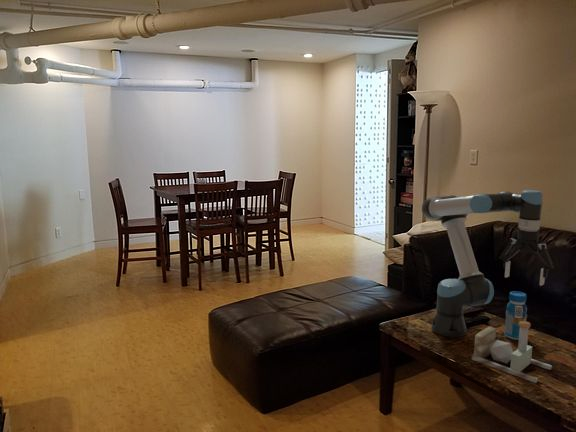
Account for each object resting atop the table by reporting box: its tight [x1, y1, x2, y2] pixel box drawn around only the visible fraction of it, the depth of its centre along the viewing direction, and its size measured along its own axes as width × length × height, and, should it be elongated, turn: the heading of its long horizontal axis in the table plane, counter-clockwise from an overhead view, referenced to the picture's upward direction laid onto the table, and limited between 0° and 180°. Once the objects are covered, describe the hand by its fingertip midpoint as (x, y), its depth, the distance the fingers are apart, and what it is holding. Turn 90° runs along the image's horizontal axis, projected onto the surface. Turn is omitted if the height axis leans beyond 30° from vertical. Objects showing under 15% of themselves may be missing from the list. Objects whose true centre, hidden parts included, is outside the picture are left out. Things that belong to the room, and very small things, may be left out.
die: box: [490, 339, 514, 365], centre depth 187 cm, size 8×9×10 cm
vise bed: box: [471, 326, 553, 384], centre depth 184 cm, size 24×15×10 cm, turn 42°
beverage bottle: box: [503, 290, 528, 341], centre depth 208 cm, size 8×8×20 cm
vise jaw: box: [509, 320, 533, 372], centre depth 181 cm, size 4×12×18 cm, turn 132°
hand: (523, 280), depth 190 cm, fingers open, 13 cm apart
